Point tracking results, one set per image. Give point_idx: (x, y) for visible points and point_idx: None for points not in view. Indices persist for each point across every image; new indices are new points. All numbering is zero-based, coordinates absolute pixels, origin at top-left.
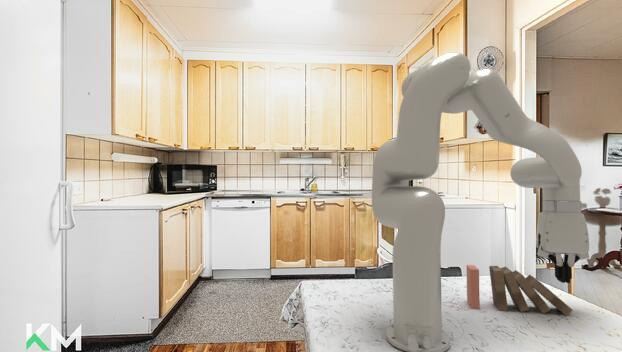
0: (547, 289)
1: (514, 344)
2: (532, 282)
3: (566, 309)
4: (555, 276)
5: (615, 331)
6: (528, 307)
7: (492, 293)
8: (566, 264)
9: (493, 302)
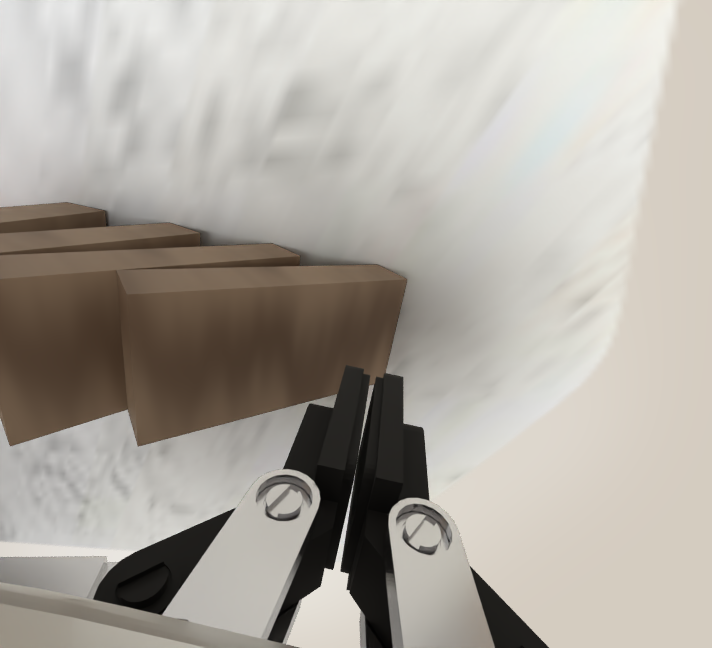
0: (234, 417)
1: (79, 539)
2: (130, 404)
3: None
4: (310, 406)
5: (438, 493)
6: None
7: (5, 209)
8: (357, 588)
9: (59, 204)
